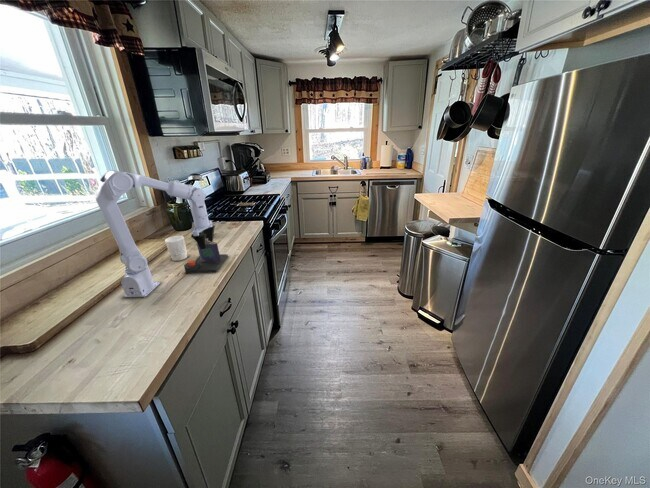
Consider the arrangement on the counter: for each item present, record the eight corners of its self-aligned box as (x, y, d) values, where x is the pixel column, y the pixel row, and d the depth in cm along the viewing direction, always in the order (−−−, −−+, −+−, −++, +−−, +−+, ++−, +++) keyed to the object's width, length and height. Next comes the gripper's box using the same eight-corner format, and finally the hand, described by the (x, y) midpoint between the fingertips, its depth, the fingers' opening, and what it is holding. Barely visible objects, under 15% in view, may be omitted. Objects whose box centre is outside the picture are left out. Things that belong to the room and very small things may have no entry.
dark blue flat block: (199, 262, 116) (194, 240, 112) (203, 259, 119) (198, 237, 115) (219, 262, 116) (214, 240, 111) (222, 259, 118) (218, 237, 114)
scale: (215, 272, 110) (214, 266, 108) (183, 273, 110) (181, 267, 109) (228, 256, 124) (226, 251, 123) (199, 257, 124) (197, 252, 123)
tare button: (193, 266, 110) (192, 262, 109) (186, 266, 110) (185, 263, 109) (196, 263, 113) (195, 259, 112) (190, 263, 113) (189, 259, 112)
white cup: (181, 262, 120) (175, 242, 116) (166, 261, 122) (160, 241, 118) (192, 254, 127) (187, 236, 123) (178, 253, 129) (173, 235, 125)
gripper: (202, 220, 102) (209, 251, 108) (216, 210, 115) (221, 238, 121) (184, 221, 102) (192, 252, 108) (200, 211, 115) (206, 239, 121)
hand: (206, 245), depth 114 cm, fingers open, 7 cm apart
